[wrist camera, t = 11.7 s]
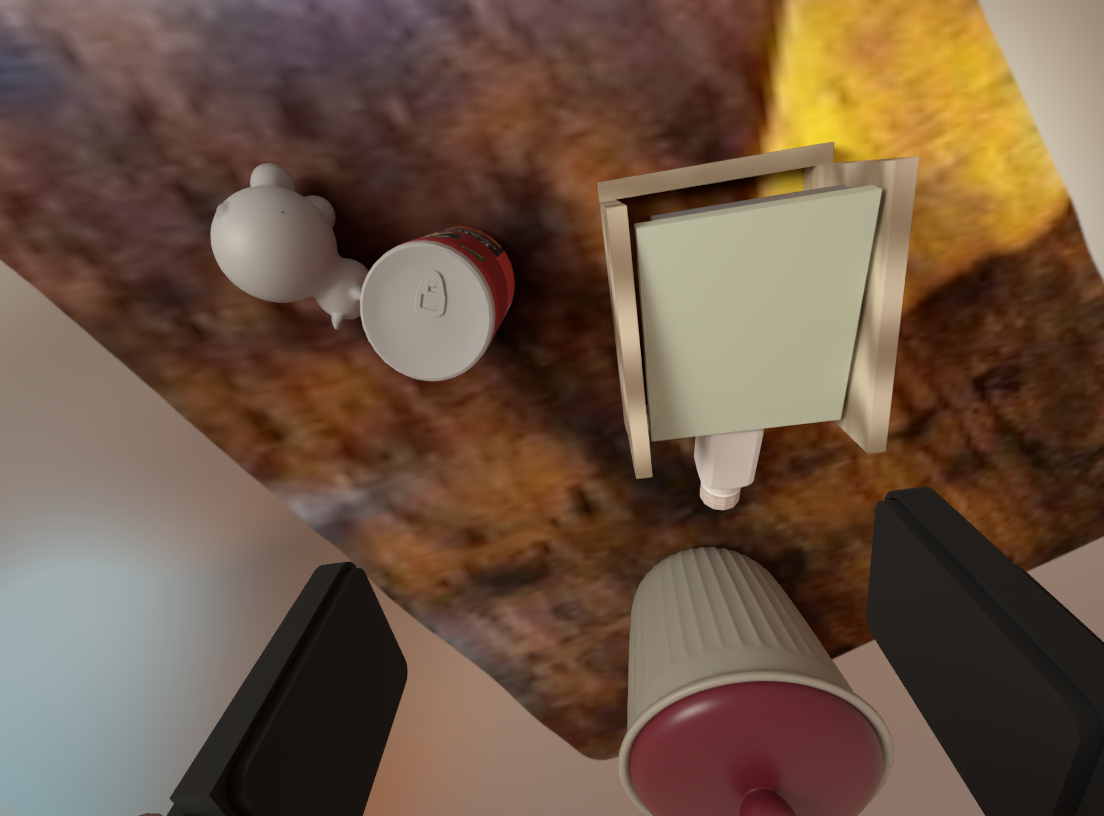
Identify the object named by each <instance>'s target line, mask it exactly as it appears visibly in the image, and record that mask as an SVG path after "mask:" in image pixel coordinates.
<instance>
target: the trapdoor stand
mask: <svg viewBox="0 0 1104 816" xmlns="http://www.w3.org/2000/svg"><path fill="white" fill-rule="evenodd" d="M833 157H834V142H829V143H823V144H817V145H811V146H805V147H800V148H794V149H788V150H782V151H776V152H771V153H765V154H759V155H753V156H748V157H742V158H736V159H730V160H725V161H719V162H713V163H707V164H701V165H696V166H690V167H684V168H678V169H673V170H667V171H661V172H655V173H649V174H644V175H638V176H632V177H626V178H621V179H615V180H609V181H603V182H597V184H598V193H599V202H600V210H601V219H602V228H603V237H604V246H605V254H606V263H607V272H608V281H609V289H610V298H611V307H612V316H613V325H614V333H615V342H616V351H617V360H618V369H619V377H620V386H621V395H622V404H623V412H624V421H625V426H626V431H627V432H628V437H629V443H630V448H631V453H632V458H633V464H634V469H635V474H636V479H638V478H647V477H652V468H651V458H650V447H649V436H648V429H650V428H649V415H648V405H645V394H644V383H643V373H642V362H641V352H640V341H639V330H638V320H637V309H636V299H635V288H634V277H633V267H632V256H631V246H630V235H629V225H628V214H627V205H625V204H623V203H621V202H619V201H617V200H616V199H622V198H628V197H633V196H639V195H645V194H651V193H657V192H663V191H669V190H675V189H681V188H687V187H693V186H699V185H705V184H711V183H716V182H722V181H728V180H734V179H740V178H746V177H752V176H758V175H764V174H770V173H776V172H782V171H788V170H793V169H799V168H804V187H803V191H805V190H811V189H817V188H824V187H830V186H836V185H842V184H843V185H845V186H847V187H850V188H856V187H862V186H868V185H874V186H876V187H879V188H881V189H882V193H881V199H880V204H879V210H878V215H877V221H876V226H875V232H874V237H873V243H872V248H871V254H870V260H869V265H868V271H867V276H866V282H865V287H864V293H863V298H862V304H861V309H860V315H859V321H858V326H857V332H856V337H855V343H854V348H853V354H852V359H851V365H850V370H849V376H848V382H847V387H846V393H845V398H844V404H843V409H842V415H841V420H833V421H834V422H835V423H836V424H837V425H838V426H839V427H840V428H841V429H843V430H844V431H845V432H846V433H847V434H848V435H849V436H850V437H851V438H852V439H853V440H854V441H855V442H856V443H857V444H858V445H859V446H860V447H862V448H863V449H864V450H865V451H866V452H867V453H877V452H886V443H887V435H888V426H889V417H890V408H891V399H892V390H893V382H894V373H895V364H896V355H897V346H898V338H899V329H900V320H901V311H902V302H903V294H904V285H905V276H906V267H907V258H908V250H909V241H910V232H911V223H912V214H913V206H914V197H915V188H916V179H917V170H918V161H919V157H908V158H894V159H880V160H866V161H851V162H837V163H833Z"/></svg>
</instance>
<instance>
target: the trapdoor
mask: <svg viewBox="0 0 1104 816" xmlns="http://www.w3.org/2000/svg"><path fill="white" fill-rule="evenodd" d="M881 193H882V189H881V188H879V187H876V186H874V185H868V186H862V187H856V188H850V187H847V186H845V185H843V184H842V185H836V186H830V187H824V188H817V189H811V190H805V191H799V192H793V193H787V194H781V195H775V196H769V197H763V198H756V199H750V200H744V201H738V202H732V203H726V204H720V205H714V206H708V207H702V208H696V209H689V210H683V211H677V212H671V213H665V214H659V215H653V216H651V221H647V222H641V223H635V224H634V227H635V241H636V254H637V268H638V281H639V294H640V308H641V321H642V335H643V348H644V361H645V375H646V388H647V402H648V415H649V428H650V435H651V440H652V441H660V440H668V439H677V438H685V437H694V436H703V435H711V434H720V433H729V432H737V431H746V430H754V429H763V428H772V427H780V426H789V425H797V424H806V423H815V422H823V421H832V420H841V415H842V409H843V404H844V398H845V393H846V387H847V382H848V376H849V370H850V365H851V359H852V354H853V348H854V343H855V337H856V332H857V326H858V321H859V315H860V309H861V304H862V298H863V293H864V287H865V282H866V276H867V271H868V265H869V260H870V254H871V248H872V243H873V237H874V232H875V226H876V221H877V215H878V210H879V204H880V199H881Z"/></svg>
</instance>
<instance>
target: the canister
mask: <svg viewBox="0 0 1104 816" xmlns="http://www.w3.org/2000/svg"><path fill="white" fill-rule="evenodd" d="M893 761H894V746H893V740H892V737H891V734H890V732H889V730H888V728H887V726H886V724H885V722H884V721H883V719H882V718H881V716H880V715H879V714H878V713H877V712H876V711H875V710H874V708H873V707H871V706H870V705H869V704H868V703H867V702H865V701H864V700H863V699H862V698H861V697H859V696H858V695H856V694H855V693H854V692H853V691H852V689H851V687H850V686H849V684H848V683H847V681H846V680H845V678H844V677H843V676H842V674H841V673H840V671H839V670H838V668H837V667H836V665H835V664H834V662H833V661H832V659H831V658H830V656H829V655H828V653H827V652H826V650H825V649H824V647H823V646H822V644H821V643H820V641H819V640H818V638H817V637H816V635H815V634H814V633H813V631H812V630H811V628H810V627H809V625H808V624H807V622H806V621H805V619H804V618H803V617H802V615H801V614H800V612H799V611H798V610H797V608H796V607H795V605H794V604H793V603H792V601H791V600H790V598H789V597H788V596H787V594H786V593H785V592H784V590H783V589H782V587H781V586H780V585H779V584H778V582H777V581H776V580H775V579H774V577H773V576H772V575H771V574H770V573H769V572H768V571H767V570H766V569H765V568H763V567H762V566H761V565H760V564H759V563H758V562H756V561H755V560H752V559H750V558H749V557H748V556H746V555H744V554H740V553H738V552H737V551H734V550H727V549H725V548H715V547H700V548H690V549H688V550H685V551H680V552H678V553H676V554H671V555H670V556H669V557H668V558H666V559H662V560H661V561H660V563H658V564H657V565H654V566H653V568H652V569H651V571H649V572H648V573H647V574H646V575H645V577H644V579H643V580H642V581H641V582H640V584H639V587H638V589H637V591H636V593H635V596H634V602H633V605H632V611H631V626H630V644H629V683H628V725H627V733H626V735H625V737H624V740H623V742H622V745H621V748H620V752H619V759H618V766H619V775H620V779H621V783H622V785H623V788H624V790H625V792H626V793H627V795H628V797H629V798H630V799H631V801H632V802H633V803H634V804H635V806H636V807H637V808H638V809H639V810H640V811H641V812H643V813H644V814H645V815H646V816H857V815H859V814H860V813H861V811H863V809H864V808H865V807H866V806H867V805H868V804H869V803H870V802H871V801H872V800H873V799H874V798H875V797H876V796H877V795H878V794H879V793H880V791H881V790H882V789H883V787H884V785H885V784H886V782H887V780H888V778H889V776H890V773H891V770H892V766H893Z"/></svg>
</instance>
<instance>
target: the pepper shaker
mask: <svg viewBox="0 0 1104 816" xmlns="http://www.w3.org/2000/svg"><path fill="white" fill-rule="evenodd" d="M763 432H764V430H763V429H754V430H746V431H737V432H729V433H720V434H711V435H703V436H696V439H695V451H694V458H695V463H696V467H697V471H698V474H699V477H700V480H701V487H700V497H701V499H702V500H703V502H704V504H706V505H707V506H709V507H711V508H713V509H717V510H726V509H730V508H733V507H734V506H735V505H736V503H737V502H738V501H739V496H740V491H741V487H745V486H748V485H750V484H751V483H753V481H754V476H755V471H756V467H757V462H758V457H759V452H760V447H761V443H762V438H763Z"/></svg>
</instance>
